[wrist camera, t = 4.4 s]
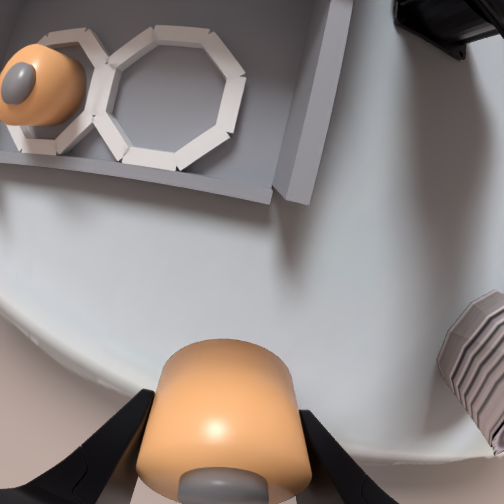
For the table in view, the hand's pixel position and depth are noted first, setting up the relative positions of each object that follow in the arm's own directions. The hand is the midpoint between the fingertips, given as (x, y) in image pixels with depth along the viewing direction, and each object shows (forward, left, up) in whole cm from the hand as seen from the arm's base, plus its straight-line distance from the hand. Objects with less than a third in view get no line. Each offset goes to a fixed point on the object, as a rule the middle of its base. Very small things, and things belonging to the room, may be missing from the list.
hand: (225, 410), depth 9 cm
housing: (+10, -19, -11) cm, 24 cm away
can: (-26, +3, -12) cm, 29 cm away
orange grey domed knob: (+14, -10, -10) cm, 20 cm away
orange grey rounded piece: (0, 0, -1) cm, 1 cm away
